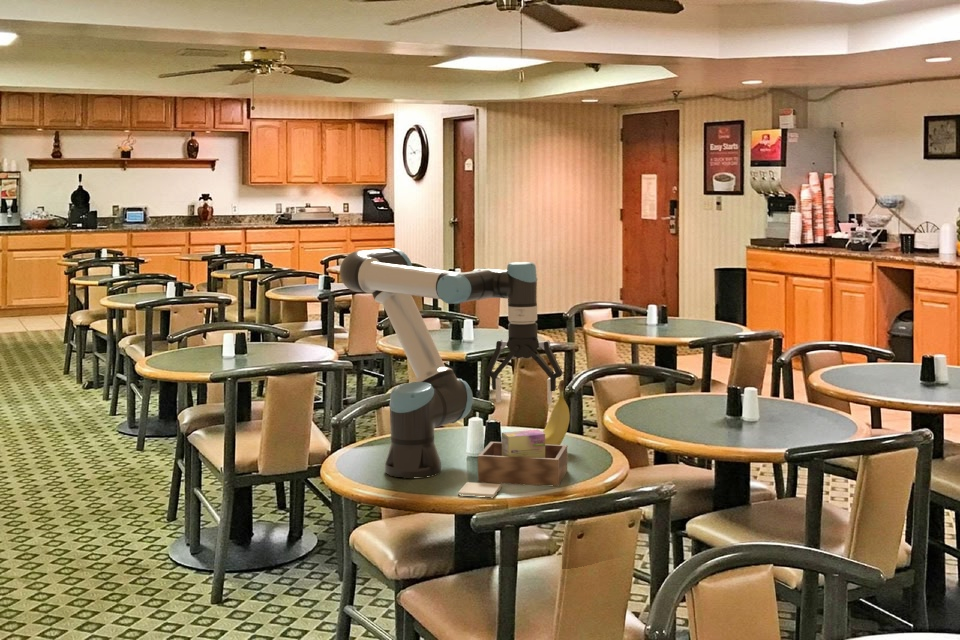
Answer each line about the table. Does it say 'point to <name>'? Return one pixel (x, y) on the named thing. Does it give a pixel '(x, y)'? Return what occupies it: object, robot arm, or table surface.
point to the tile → (480, 489)
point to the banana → (557, 420)
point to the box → (524, 444)
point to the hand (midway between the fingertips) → (524, 402)
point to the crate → (522, 466)
